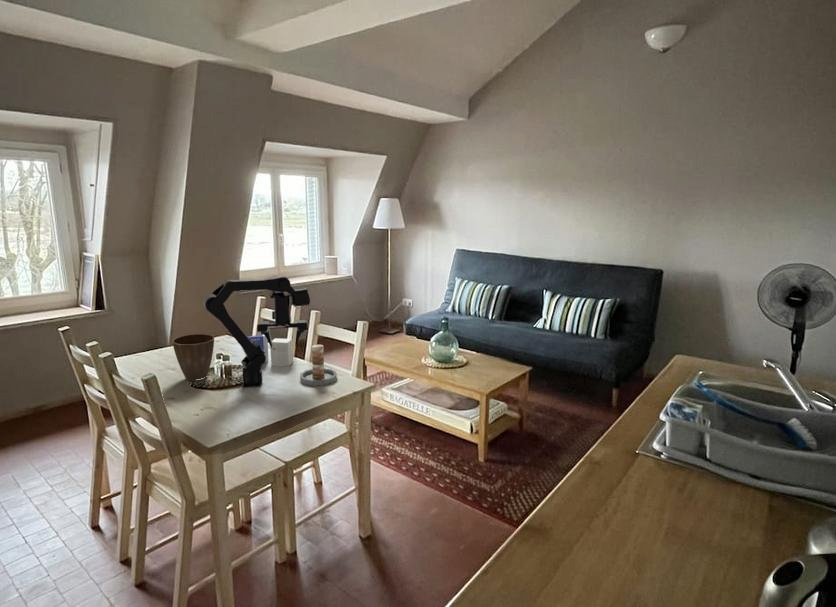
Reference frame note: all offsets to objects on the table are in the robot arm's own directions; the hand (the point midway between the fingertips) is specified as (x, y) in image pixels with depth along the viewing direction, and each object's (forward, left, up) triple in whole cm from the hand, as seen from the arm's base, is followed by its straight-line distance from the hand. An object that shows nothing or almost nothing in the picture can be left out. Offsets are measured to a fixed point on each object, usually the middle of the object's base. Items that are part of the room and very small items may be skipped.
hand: (283, 346), depth 191 cm
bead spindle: (+13, -3, -12) cm, 18 cm away
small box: (-2, +18, -13) cm, 22 cm away
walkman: (-12, +22, -13) cm, 28 cm away
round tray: (+13, -3, -13) cm, 19 cm away
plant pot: (-34, +6, -13) cm, 37 cm away
